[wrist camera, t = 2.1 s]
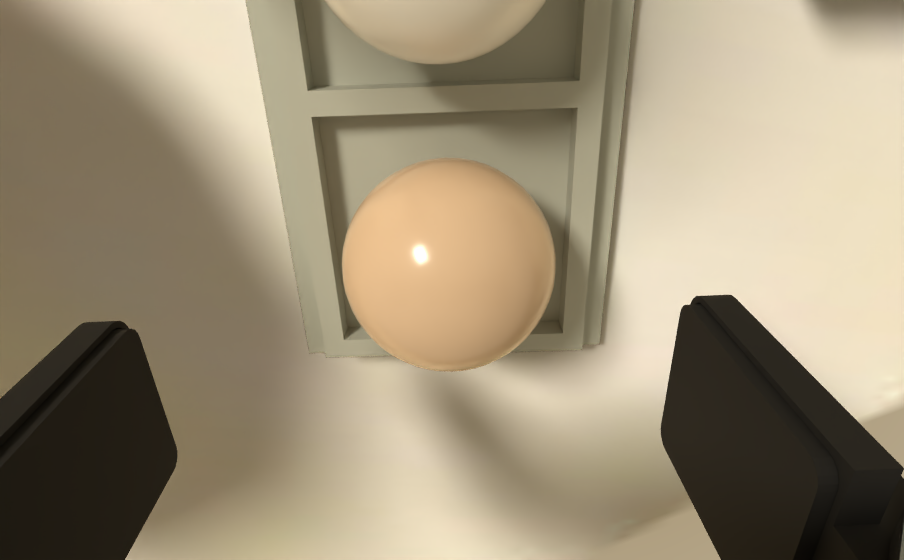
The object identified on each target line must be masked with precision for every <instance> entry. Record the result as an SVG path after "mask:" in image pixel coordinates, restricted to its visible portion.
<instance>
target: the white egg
mask: <svg viewBox="0 0 904 560" xmlns="http://www.w3.org/2000/svg"><path fill="white" fill-rule="evenodd" d="M324 1H325V2H326V4H327V5H328V6H329V8H330V9H331V10H332V12H333V13H334V14H335V15H336V16H337V17H338V18H339V20H340V21H341V22H342V23H343V24H344V25H345V26H346V27H347V28H348V29H349V30H351V31H352V32H353V33H354V34H355V35H357V36H358V37H359V38H360V39H362V40H363V41H365V42H366V43H368V44H369V45H371V46H372V47H374V48H376V49H378V50H380V51H382V52H384V53H386V54H388V55H390V56H393V57H396V58H399V59H402V60H406V61H410V62H416V63H421V64H450V63H458V62H462V61H466V60H470V59H474V58H476V57H479V56H481V55H484V54H486V53H489V52H490V51H492V50H494V49H496V48H497V47H499V46H501V45H503V44H504V43H506V42H507V41H508V40H510V39H511V38H512V37H514V36H515V35H516V34H518V33H519V32H520V31H521V30H522V29H523V28H524V27H525V26H526V25H527V24H528V23H529V22H530V21H531V20H532V19H533V18H534V16H535V15H536V14H537V13H538V11H539V10H540V9H541V8H542V6H543V5H544V3H545V2H546V0H324Z"/></svg>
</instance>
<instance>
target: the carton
mask: <svg viewBox="0 0 904 560" xmlns="http://www.w3.org/2000/svg"><path fill="white" fill-rule="evenodd" d="M634 3H635V0H546V2H545V3H544V5H543V6H542V8H541V9H540V10H539V11H538V13H537V14H536V15H535V16H534V18H533V19H532V20H531V21H530V22H529V23H528V24H527V25H526V26H525V27H524V28H523V29H522V30H521V31H520V32H519V33H518V34H516V35H515V36H514V37H512V38H511V39H510V40H508V41H507V42H506V43H504V44H503V45H501V46H499V47H497V48H496V49H494V50H492V51H490V52H489V53H486V54H484V55H481V56H479V57H476V58H474V59H470V60H466V61H462V62H458V63H450V64H421V63H416V62H410V61H406V60H402V59H399V58H396V57H393V56H390V55H388V54H386V53H384V52H382V51H380V50H378V49H376V48H374V47H372V46H371V45H369V44H368V43H366V42H365V41H363V40H362V39H360V38H359V37H358V36H357V35H355V34H354V33H353V32H352V31H351V30H349V29H348V28H347V27H346V26H345V25H344V24H343V23H342V22H341V21H340V20H339V18H338V17H337V16H336V15H335V14H334V13H333V12H332V10H331V9H330V8H329V6H328V5H327V4H326V2H325V1H324V0H246V6H247V11H248V17H249V22H250V28H251V33H252V39H253V44H254V50H255V56H256V61H257V67H258V72H259V78H260V83H261V89H262V94H263V100H264V105H265V111H266V116H267V122H268V127H269V133H270V138H271V144H272V149H273V155H274V160H275V166H276V172H277V177H278V183H279V188H280V194H281V199H282V205H283V210H284V216H285V221H286V227H287V232H288V238H289V243H290V249H291V254H292V260H293V265H294V271H295V276H296V282H297V288H298V293H299V299H300V304H301V310H302V315H303V321H304V326H305V332H306V337H307V343H308V348H309V353H325V354H326V358H331V357H364V356H393V355H391V354H390V353H388V352H387V351H385V350H384V349H383V348H381V347H380V346H379V345H378V344H377V343H376V342H375V341H374V340H373V339H372V338H371V337H370V336H369V335H368V334H367V333H366V331H365V330H364V329H363V327H362V326H361V325H360V323H359V322H358V320H357V318H356V317H355V315H354V313H353V311H352V309H351V306H350V303H349V301H348V298H347V295H346V292H345V288H344V283H343V272H342V254H343V247H344V242H345V238H346V234H347V230H348V228H349V225H350V223H351V220H352V218H353V216H354V214H355V213H356V211H357V209H358V207H359V206H360V204H361V203H362V202H363V200H364V199H365V198H366V196H367V195H368V194H369V193H370V192H371V191H372V190H373V189H374V188H375V187H376V186H377V185H378V184H379V183H380V182H381V181H383V180H384V179H386V178H387V177H388V176H390V175H391V174H393V173H394V172H396V171H398V170H400V169H402V168H404V167H406V166H408V165H411V164H414V163H416V162H420V161H424V160H428V159H434V158H444V157H448V158H463V159H469V160H474V161H478V162H481V163H484V164H487V165H489V166H491V167H494V168H496V169H498V170H500V171H501V172H503V173H505V174H506V175H508V176H509V177H511V178H512V179H514V180H515V181H516V182H517V183H519V184H520V185H521V186H522V187H523V188H524V189H525V190H526V191H527V192H528V193H529V194H530V195H531V197H532V198H533V199H534V201H535V202H536V204H537V205H538V207H539V208H540V210H541V211H542V213H543V215H544V217H545V219H546V221H547V223H548V226H549V229H550V232H551V235H552V238H553V243H554V249H555V255H556V271H555V280H554V287H553V291H552V294H551V298H550V300H549V303H548V305H547V308H546V310H545V312H544V314H543V316H542V318H541V320H540V321H539V323H538V324H537V326H536V327H535V328H534V330H533V331H532V332H531V333H530V335H529V336H528V337H527V338H526V339H525V340H524V341H523V342H522V343H521V344H520V345H519V346H518V347H516V348H515V349H514V350H512V351H511V352H531V351H564V350H582V346H583V345H598V344H600V334H601V325H602V315H603V305H604V295H605V286H606V276H607V266H608V256H609V246H610V237H611V227H612V217H613V207H614V198H615V188H616V178H617V168H618V159H619V149H620V139H621V129H622V120H623V110H624V100H625V90H626V81H627V71H628V61H629V51H630V42H631V32H632V22H633V12H634Z"/></svg>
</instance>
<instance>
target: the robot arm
mask: <svg viewBox="0 0 904 560" xmlns="http://www.w3.org/2000/svg"><path fill="white" fill-rule="evenodd" d="M661 437H662V442H663V445H664V448H665V450H666V452H667V454H668V456H669V458H670V460H671V462H672V464H673V466H674V468H675V470H676V472H677V474H678V476H679V477H680V479H681V481H682V483H683V485H684V487H685V489H686V491H687V493H688V495H689V497H690V499H691V501H692V503H693V505H694V507H695V509H696V511H697V513H698V515H699V517H700V519H701V521H702V523H703V525H704V527H705V529H706V531H707V533H708V535H709V537H710V539H711V541H712V543H713V545H714V546H715V549H716V550H717V552H718V554H719V556H720V558H721V560H904V479H903V478H902V476H901V474H902V472H903V470H904V468H903V467H902V466H901V465H900V464H899V463H898V462H897V461H896V460H895V459H894V458H893V457H892V456H891V455H890V454H889V453H888V452H887V451H886V450H885V449H884V448H883V447H882V446H881V445H880V444H879V443H878V442H877V441H876V440H875V439H874V438H873V437H872V436H871V435H870V434H869V433H868V432H867V431H866V430H865V429H864V428H863V427H862V425H861V424H860V423H859V422H858V421H857V420H856V419H855V418H854V417H853V416H852V415H851V414H850V413H849V412H848V411H847V410H846V409H845V408H844V407H843V406H842V405H841V404H840V403H839V402H838V401H837V400H836V399H835V398H834V397H833V396H832V395H831V394H830V393H829V392H828V391H827V390H826V389H825V388H824V387H823V386H822V385H821V384H820V383H819V382H818V381H817V380H816V379H815V378H814V377H813V376H812V375H811V374H810V373H809V372H808V371H807V370H806V369H805V368H804V367H803V366H802V365H801V364H800V363H799V362H798V361H797V360H796V359H795V358H794V357H793V356H792V355H791V354H790V353H789V352H788V351H787V350H786V349H785V348H784V347H783V346H782V345H781V344H780V343H779V342H778V341H777V340H776V339H775V338H774V337H773V336H772V335H771V334H770V333H769V332H768V330H767V329H766V328H765V327H764V326H763V325H762V324H761V323H760V322H759V321H758V320H757V319H756V318H755V317H754V316H753V315H752V314H751V313H750V312H749V311H748V310H747V309H746V308H745V307H744V306H743V305H742V304H741V303H740V302H739V301H738V300H737V299H736V298H735V297H733V296H732V295H713V296H696V297H695V298H693V300H692V302H691V304H690V305H684V306H683V307H682V309H681V312H680V317H679V323H678V329H677V335H676V341H675V347H674V353H673V358H672V364H671V370H670V376H669V382H668V388H667V394H666V400H665V405H664V411H663V417H662V423H661ZM176 462H177V448H176V444H175V441H174V438H173V435H172V433H171V430H170V427H169V424H168V421H167V418H166V415H165V412H164V409H163V406H162V403H161V400H160V397H159V394H158V391H157V388H156V385H155V382H154V379H153V376H152V373H151V370H150V367H149V364H148V361H147V358H146V355H145V352H144V349H143V346H142V343H141V340H140V337H139V335H138V333H137V332H136V331H135V330H133V329H129V328H128V326H127V325H126V324H125V323H123V322H121V321H108V322H87V323H83V324H81V325H79V326H78V327H77V328H76V329H75V330H74V331H73V332H72V333H71V334H70V335H68V336H67V337H66V338H65V339H64V340H63V341H62V342H61V343H60V344H59V345H58V346H57V347H56V348H54V349H53V350H52V351H51V352H50V353H49V354H48V355H47V356H46V357H45V358H44V359H43V360H42V361H40V362H39V363H38V364H37V365H36V366H35V367H34V368H33V369H32V370H31V371H30V372H29V373H28V374H26V375H25V376H24V377H23V378H22V379H21V380H20V381H19V382H18V383H17V384H16V385H15V386H14V387H12V388H11V389H10V390H9V391H8V392H7V393H6V394H5V395H4V396H3V397H2V398H1V399H0V560H125V558H126V557H127V555H128V553H129V551H130V549H131V547H132V546H133V544H134V542H135V540H136V538H137V537H138V535H139V533H140V531H141V529H142V527H143V526H144V524H145V522H146V520H147V518H148V517H149V515H150V513H151V511H152V509H153V507H154V506H155V504H156V502H157V500H158V498H159V496H160V495H161V493H162V491H163V489H164V487H165V486H166V484H167V482H168V480H169V478H170V476H171V475H172V473H173V471H174V469H175V466H176Z"/></svg>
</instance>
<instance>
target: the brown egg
mask: <svg viewBox="0 0 904 560" xmlns="http://www.w3.org/2000/svg"><path fill="white" fill-rule="evenodd" d="M555 271H556V255H555V249H554V243H553V238H552V235H551V232H550V229H549V226H548V223H547V221H546V219H545V217H544V215H543V213H542V211H541V210H540V208H539V207H538V205H537V204H536V202H535V201H534V199H533V198H532V197H531V195H530V194H529V193H528V192H527V191H526V190H525V189H524V188H523V187H522V186H521V185H520V184H519V183H517V182H516V181H515V180H514V179H512V178H511V177H509V176H508V175H506V174H505V173H503V172H501V171H500V170H498V169H496V168H494V167H491V166H489V165H487V164H484V163H481V162H478V161H474V160H469V159H463V158H448V157H444V158H434V159H428V160H424V161H420V162H416V163H414V164H411V165H408V166H406V167H404V168H402V169H400V170H398V171H396V172H394V173H393V174H391V175H390V176H388V177H387V178H386V179H384V180H383V181H381V182H380V183H379V184H378V185H377V186H376V187H375V188H374V189H373V190H372V191H371V192H370V193H369V194H368V195H367V196H366V198H365V199H364V200H363V202H362V203H361V204H360V206H359V207H358V209H357V211H356V213H355V214H354V216H353V218H352V220H351V223H350V225H349V228H348V230H347V234H346V238H345V242H344V247H343V254H342V272H343V283H344V288H345V292H346V295H347V298H348V301H349V303H350V306H351V309H352V311H353V313H354V315H355V317H356V318H357V320H358V322H359V323H360V325H361V326H362V327H363V329H364V330H365V331H366V333H367V334H368V335H369V336H370V337H371V338H372V339H373V340H374V341H375V342H376V343H377V344H378V345H379V346H380V347H381V348H383V349H384V350H385V351H387V352H388V353H390V354H391V355H393V356H394V357H396V358H398V359H400V360H402V361H404V362H406V363H408V364H411V365H414V366H417V367H420V368H424V369H428V370H435V371H450V372H453V371H464V370H469V369H474V368H478V367H481V366H484V365H487V364H489V363H491V362H493V361H496V360H498V359H500V358H501V357H503V356H505V355H507V354H508V353H510V352H511V351H512V350H514V349H515V348H516V347H518V346H519V345H520V344H521V343H522V342H523V341H524V340H525V339H526V338H527V337H528V336H529V335H530V333H531V332H532V331H533V330H534V328H535V327H536V326H537V324H538V323H539V321H540V320H541V318H542V316H543V314H544V312H545V310H546V308H547V305H548V303H549V300H550V298H551V294H552V291H553V287H554V280H555Z"/></svg>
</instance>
